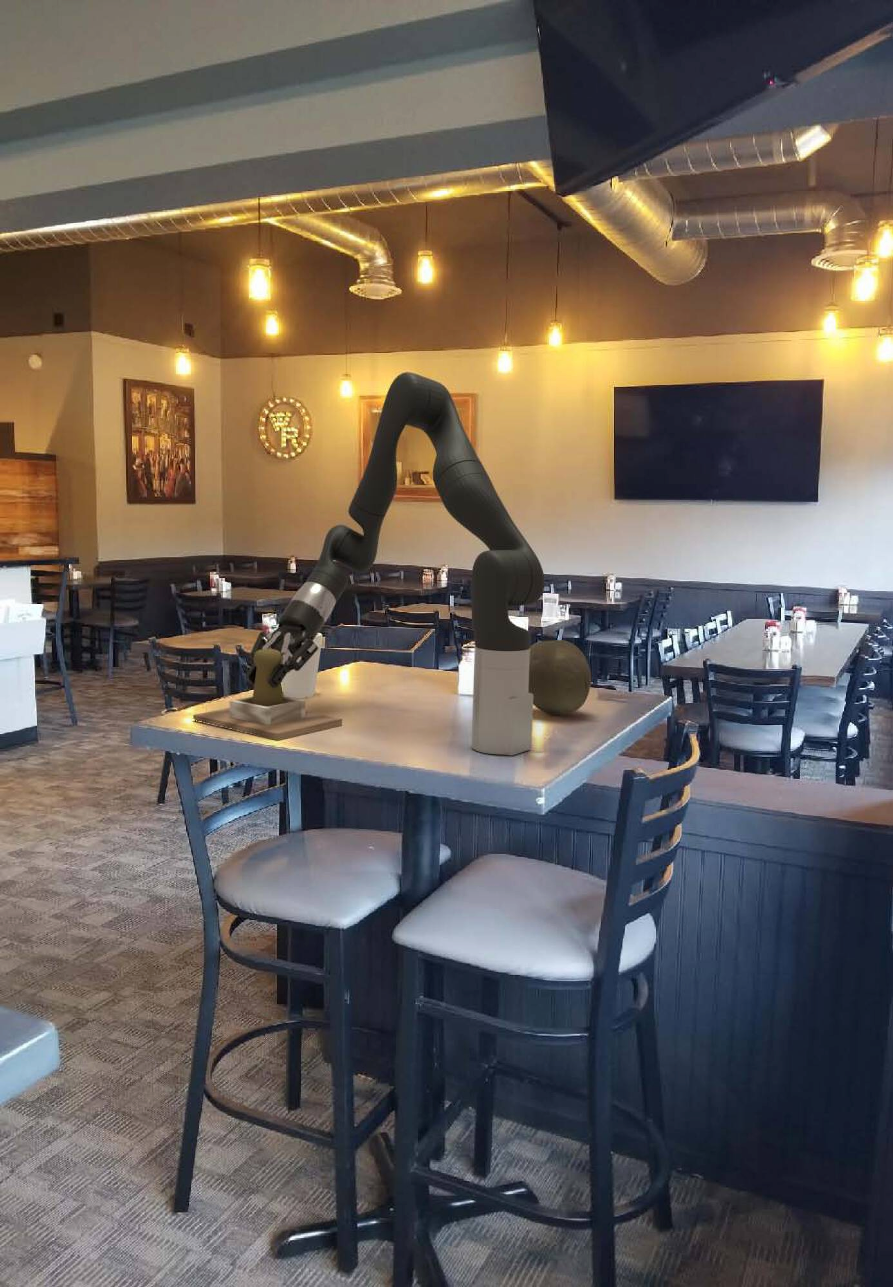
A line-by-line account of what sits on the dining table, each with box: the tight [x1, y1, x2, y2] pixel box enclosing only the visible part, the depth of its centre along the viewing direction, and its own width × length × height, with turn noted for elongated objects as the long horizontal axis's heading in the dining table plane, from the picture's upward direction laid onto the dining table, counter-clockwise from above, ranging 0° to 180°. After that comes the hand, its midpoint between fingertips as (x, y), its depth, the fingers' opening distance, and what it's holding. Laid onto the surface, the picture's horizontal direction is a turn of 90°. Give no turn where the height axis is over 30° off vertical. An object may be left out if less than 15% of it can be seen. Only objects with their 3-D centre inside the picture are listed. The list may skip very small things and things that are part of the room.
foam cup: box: [281, 632, 323, 699], centre depth 202 cm, size 10×9×13 cm
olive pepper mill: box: [252, 648, 284, 707], centre depth 175 cm, size 6×6×11 cm
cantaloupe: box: [528, 639, 592, 717], centre depth 189 cm, size 14×14×15 cm
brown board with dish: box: [192, 695, 343, 741], centre depth 176 cm, size 22×16×4 cm
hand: (260, 682), depth 174 cm, fingers closed on olive pepper mill, 5 cm apart
